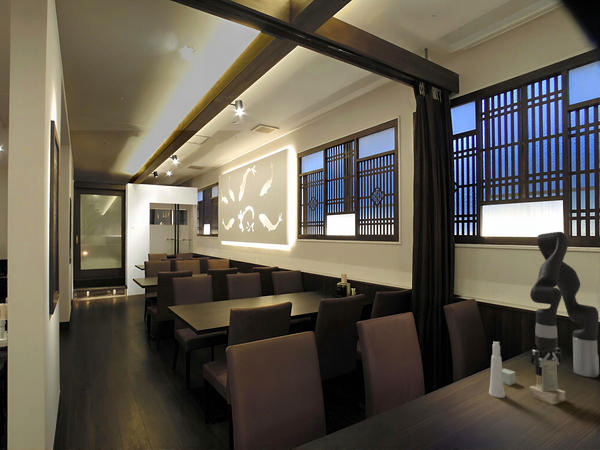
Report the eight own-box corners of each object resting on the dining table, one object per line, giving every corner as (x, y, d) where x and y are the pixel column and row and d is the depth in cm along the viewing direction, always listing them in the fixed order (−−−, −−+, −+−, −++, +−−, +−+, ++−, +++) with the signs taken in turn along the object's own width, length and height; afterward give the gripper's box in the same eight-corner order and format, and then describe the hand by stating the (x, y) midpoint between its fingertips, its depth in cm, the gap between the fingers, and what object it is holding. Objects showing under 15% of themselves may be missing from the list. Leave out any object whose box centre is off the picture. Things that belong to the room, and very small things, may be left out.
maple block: (542, 392, 152) (542, 383, 152) (565, 401, 144) (565, 391, 144) (529, 396, 148) (529, 386, 148) (552, 405, 140) (551, 395, 140)
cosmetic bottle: (488, 396, 147) (488, 343, 148) (488, 390, 152) (488, 339, 153) (505, 399, 144) (504, 345, 145) (504, 393, 150) (504, 341, 150)
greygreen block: (504, 379, 165) (504, 368, 165) (515, 383, 160) (515, 371, 161) (498, 381, 162) (498, 370, 162) (509, 385, 158) (509, 374, 158)
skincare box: (551, 387, 147) (551, 358, 148) (558, 392, 143) (557, 361, 144) (535, 386, 148) (535, 357, 149) (541, 391, 144) (541, 360, 144)
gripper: (550, 331, 152) (551, 369, 152) (524, 333, 148) (525, 372, 148) (568, 336, 145) (568, 375, 144) (541, 338, 141) (542, 379, 140)
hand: (546, 374), depth 146 cm, fingers open, 8 cm apart
